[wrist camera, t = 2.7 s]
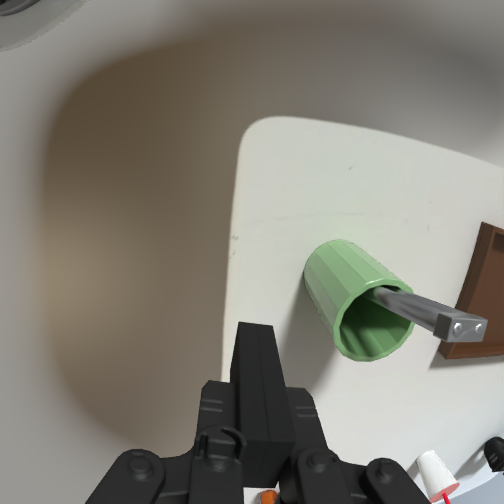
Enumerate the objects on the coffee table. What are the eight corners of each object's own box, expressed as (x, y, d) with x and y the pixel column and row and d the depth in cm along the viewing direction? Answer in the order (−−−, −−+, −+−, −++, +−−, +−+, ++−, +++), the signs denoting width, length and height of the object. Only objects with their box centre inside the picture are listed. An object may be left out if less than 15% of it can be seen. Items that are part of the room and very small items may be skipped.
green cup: (290, 265, 26) (316, 318, 17) (347, 226, 25) (398, 259, 16) (324, 314, 27) (357, 376, 19) (377, 278, 27) (427, 326, 18)
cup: (405, 467, 37) (429, 519, 26) (423, 447, 36) (452, 500, 24) (425, 464, 38) (450, 512, 26) (444, 444, 36) (472, 493, 25)
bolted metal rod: (324, 279, 25) (447, 343, 10) (326, 267, 25) (454, 318, 10) (350, 282, 26) (484, 342, 10) (352, 270, 26) (490, 319, 10)
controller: (487, 433, 38) (510, 465, 28) (509, 432, 40) (529, 459, 30) (473, 448, 39) (494, 481, 29) (496, 446, 41) (515, 473, 31)
